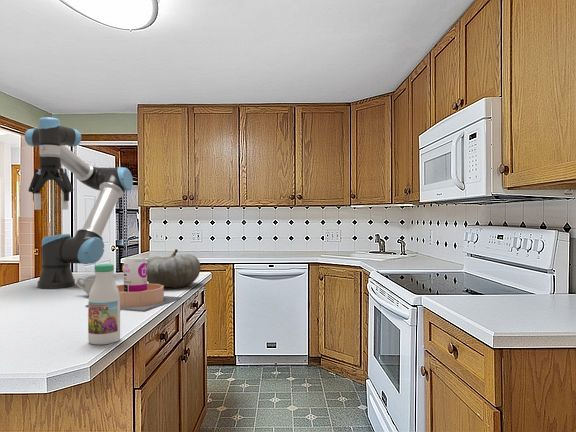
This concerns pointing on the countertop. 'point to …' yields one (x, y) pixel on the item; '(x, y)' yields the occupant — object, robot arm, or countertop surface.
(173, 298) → the peach faceted bowl
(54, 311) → the countertop surface
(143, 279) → the supplement can
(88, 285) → the teacup
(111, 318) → the milk bottle
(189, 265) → the gourd
